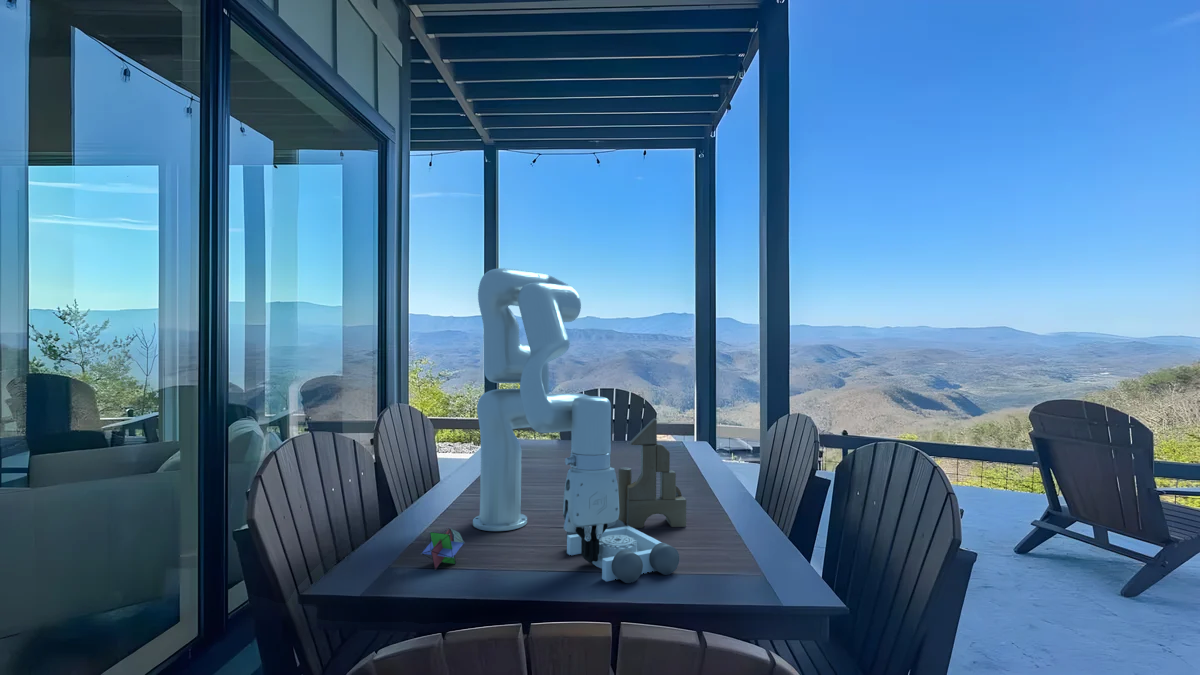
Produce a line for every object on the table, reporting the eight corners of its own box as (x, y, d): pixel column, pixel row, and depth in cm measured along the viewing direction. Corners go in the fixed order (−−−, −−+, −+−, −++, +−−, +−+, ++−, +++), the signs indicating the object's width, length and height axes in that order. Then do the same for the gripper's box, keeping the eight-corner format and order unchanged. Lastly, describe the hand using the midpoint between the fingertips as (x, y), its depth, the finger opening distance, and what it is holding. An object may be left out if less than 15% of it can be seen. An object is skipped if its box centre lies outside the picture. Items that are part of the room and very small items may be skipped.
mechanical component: (637, 575, 100) (648, 556, 110) (637, 550, 100) (648, 534, 110) (585, 569, 103) (600, 551, 113) (585, 545, 103) (600, 529, 113)
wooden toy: (679, 518, 135) (679, 416, 136) (686, 527, 128) (686, 419, 129) (617, 520, 134) (618, 416, 135) (620, 528, 127) (621, 419, 128)
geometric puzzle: (442, 565, 97) (458, 521, 102) (409, 561, 99) (426, 518, 104) (459, 578, 103) (473, 536, 108) (427, 573, 105) (442, 532, 110)
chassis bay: (561, 549, 113) (561, 524, 113) (622, 538, 120) (622, 515, 120) (613, 586, 94) (613, 557, 94) (681, 571, 101) (681, 544, 101)
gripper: (563, 468, 98) (562, 573, 97) (634, 461, 105) (634, 559, 104) (546, 461, 104) (545, 560, 104) (614, 455, 112) (614, 547, 111)
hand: (590, 559), depth 104 cm, fingers closed
